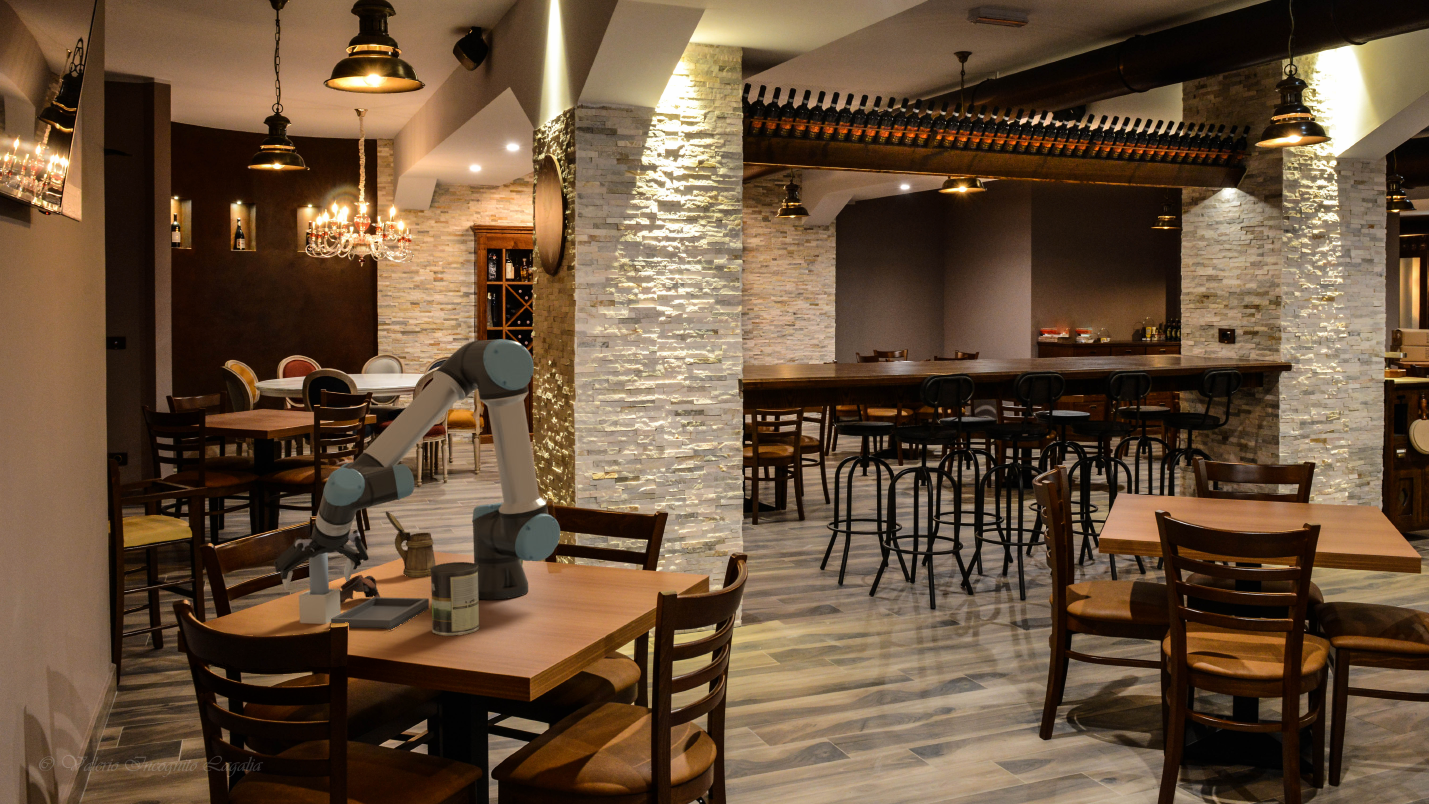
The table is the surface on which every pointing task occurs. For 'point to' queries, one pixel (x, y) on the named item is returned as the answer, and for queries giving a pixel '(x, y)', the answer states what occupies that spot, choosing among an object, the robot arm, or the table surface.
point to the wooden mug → (414, 550)
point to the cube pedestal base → (319, 607)
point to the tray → (382, 612)
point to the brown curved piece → (359, 587)
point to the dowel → (319, 574)
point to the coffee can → (454, 598)
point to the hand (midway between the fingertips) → (316, 580)
